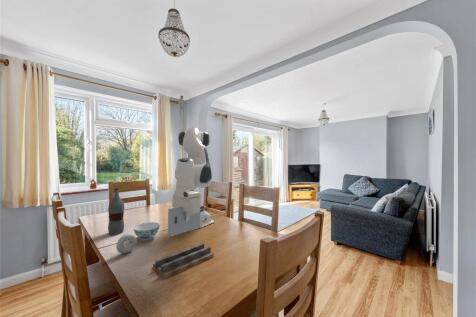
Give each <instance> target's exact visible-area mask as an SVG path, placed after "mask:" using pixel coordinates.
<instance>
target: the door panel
mask: <svg viewBox="0 0 476 317" xmlns="http://www.w3.org/2000/svg"><path fill="white" fill-rule="evenodd" d="M167 212H168V214H167V215H168V216H167V223H168V224H167V235H168V236H169V237H174V236H177V235H180V234H184V233H187V232H190V231H194V230H196V229H201V228H200V212H199V213H198V214H191V215H190V220H189V221H186V220H185V217H186V212H185V211H183V208H182V207H177V208H174V207H172V208H168V209H167Z"/></svg>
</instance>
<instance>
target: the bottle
mask: <svg viewBox="0 0 476 317" xmlns="http://www.w3.org/2000/svg"><path fill="white" fill-rule="evenodd" d="M113 189H114V192H113V197H112V199H111V200H110V202H109V204H108V206H107V207H108V208H107V211H108V212H107V213H108V224H107V225H108V227H107V229H108V230H107V231H108V235H110V236H116V235H120V234H122V233H123V232H124V229H125V221H124V214H125V203H124V201H123V200H122V198H121V197H120V190H119V189H120V188H119V187H114V188H113Z"/></svg>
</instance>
